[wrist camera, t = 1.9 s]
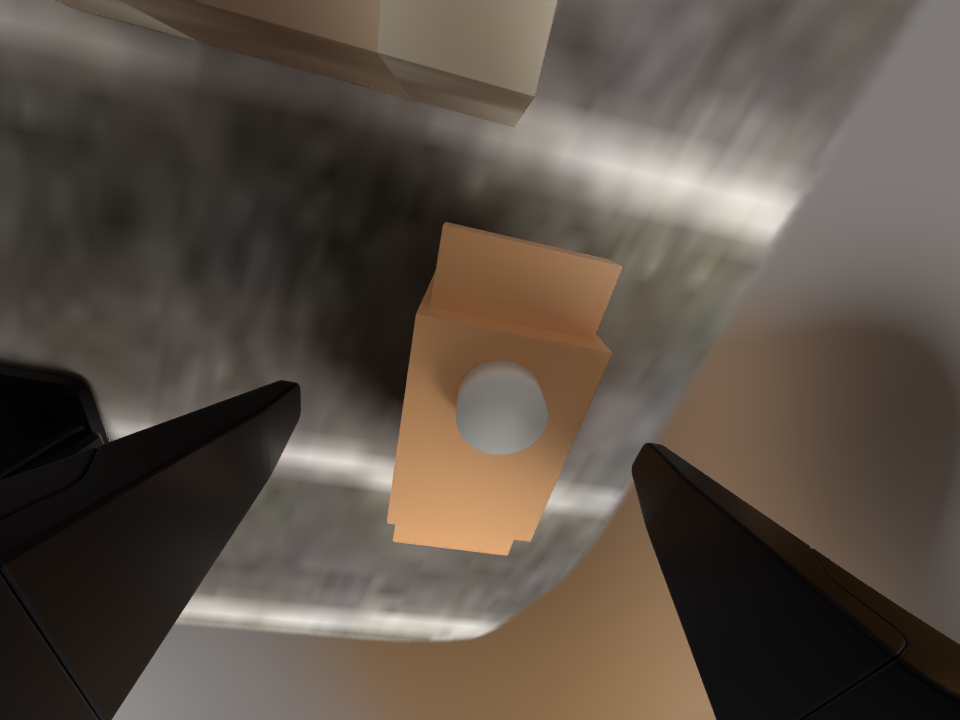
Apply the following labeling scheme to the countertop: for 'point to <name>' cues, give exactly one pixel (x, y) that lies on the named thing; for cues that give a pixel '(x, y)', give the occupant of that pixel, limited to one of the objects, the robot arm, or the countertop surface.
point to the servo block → (496, 388)
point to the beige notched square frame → (375, 42)
